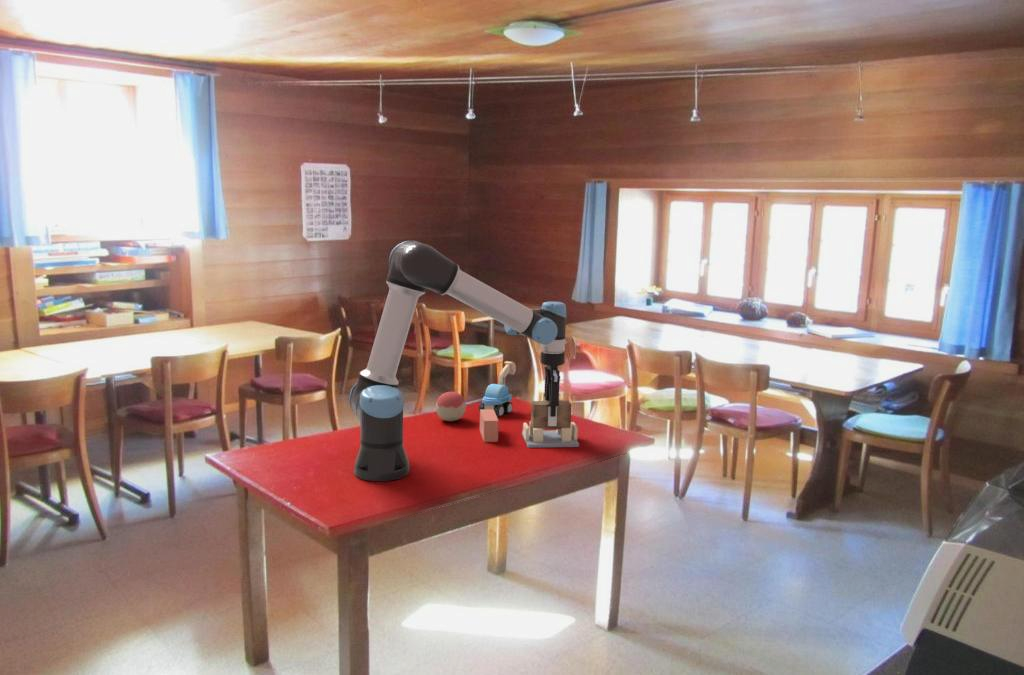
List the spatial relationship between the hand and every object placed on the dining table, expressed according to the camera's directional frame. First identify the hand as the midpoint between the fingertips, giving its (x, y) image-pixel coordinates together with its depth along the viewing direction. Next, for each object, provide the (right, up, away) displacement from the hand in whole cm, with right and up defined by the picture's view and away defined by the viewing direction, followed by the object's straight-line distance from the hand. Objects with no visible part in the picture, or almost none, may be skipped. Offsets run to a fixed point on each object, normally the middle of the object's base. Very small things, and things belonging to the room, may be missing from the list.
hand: (550, 423), depth 254 cm
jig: (0, -5, +1) cm, 6 cm away
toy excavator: (-16, +1, +33) cm, 37 cm away
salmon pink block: (-20, -5, +4) cm, 21 cm away
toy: (-33, -1, +21) cm, 39 cm away
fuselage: (0, -1, 0) cm, 1 cm away
